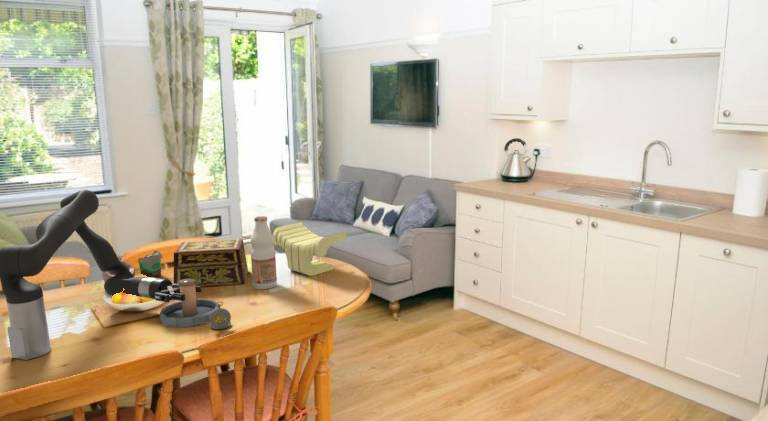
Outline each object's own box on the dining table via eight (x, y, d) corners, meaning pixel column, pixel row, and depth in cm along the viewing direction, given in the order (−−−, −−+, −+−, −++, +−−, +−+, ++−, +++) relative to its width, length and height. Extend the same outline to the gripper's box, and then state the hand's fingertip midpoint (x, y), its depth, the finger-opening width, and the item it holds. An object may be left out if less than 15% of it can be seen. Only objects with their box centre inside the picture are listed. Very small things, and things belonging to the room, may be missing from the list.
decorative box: (173, 289, 226) (169, 253, 223) (182, 275, 244) (179, 241, 241) (244, 285, 230) (241, 249, 227) (248, 271, 248) (245, 237, 245)
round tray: (194, 330, 186) (194, 322, 185) (148, 323, 193) (147, 315, 192) (230, 309, 203) (229, 302, 203) (186, 303, 210) (186, 296, 210)
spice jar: (191, 317, 194) (188, 284, 192) (178, 315, 196) (175, 282, 194) (201, 312, 199) (198, 279, 197) (189, 310, 201) (186, 277, 199)
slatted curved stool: (274, 267, 252) (272, 228, 248) (302, 259, 263) (301, 222, 260) (318, 281, 232) (317, 239, 228) (347, 272, 243) (346, 232, 239)
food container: (153, 282, 235) (150, 258, 233) (139, 281, 237) (137, 258, 235) (170, 273, 247) (167, 250, 245) (157, 272, 248) (154, 250, 246)
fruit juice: (248, 288, 226) (243, 218, 220) (262, 280, 234) (257, 214, 229) (268, 290, 222) (263, 220, 217) (281, 283, 231) (277, 215, 225)
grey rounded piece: (223, 320, 193) (221, 292, 191) (238, 326, 188) (236, 298, 186) (202, 328, 187) (199, 299, 185) (217, 335, 182) (214, 305, 180)
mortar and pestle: (113, 294, 221) (110, 266, 219) (98, 288, 229) (94, 261, 226) (142, 286, 231) (139, 258, 228) (126, 280, 238) (123, 254, 236)
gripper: (139, 284, 194) (177, 289, 188) (168, 272, 207) (205, 276, 201) (141, 305, 196) (179, 311, 190) (170, 292, 209) (207, 297, 203)
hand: (192, 293), depth 195 cm, fingers open, 8 cm apart
